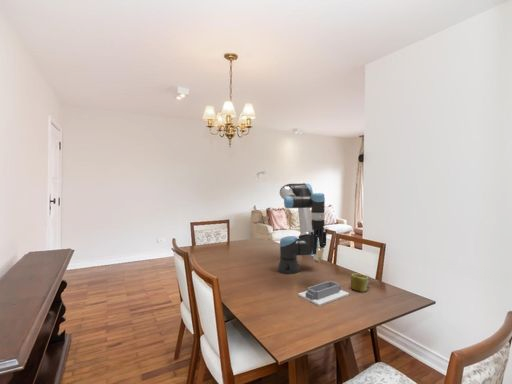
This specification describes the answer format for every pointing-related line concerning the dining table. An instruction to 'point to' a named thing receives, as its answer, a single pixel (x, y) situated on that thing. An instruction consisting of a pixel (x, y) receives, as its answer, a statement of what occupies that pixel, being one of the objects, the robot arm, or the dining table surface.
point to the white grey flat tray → (323, 293)
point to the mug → (359, 282)
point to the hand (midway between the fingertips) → (318, 258)
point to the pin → (319, 255)
